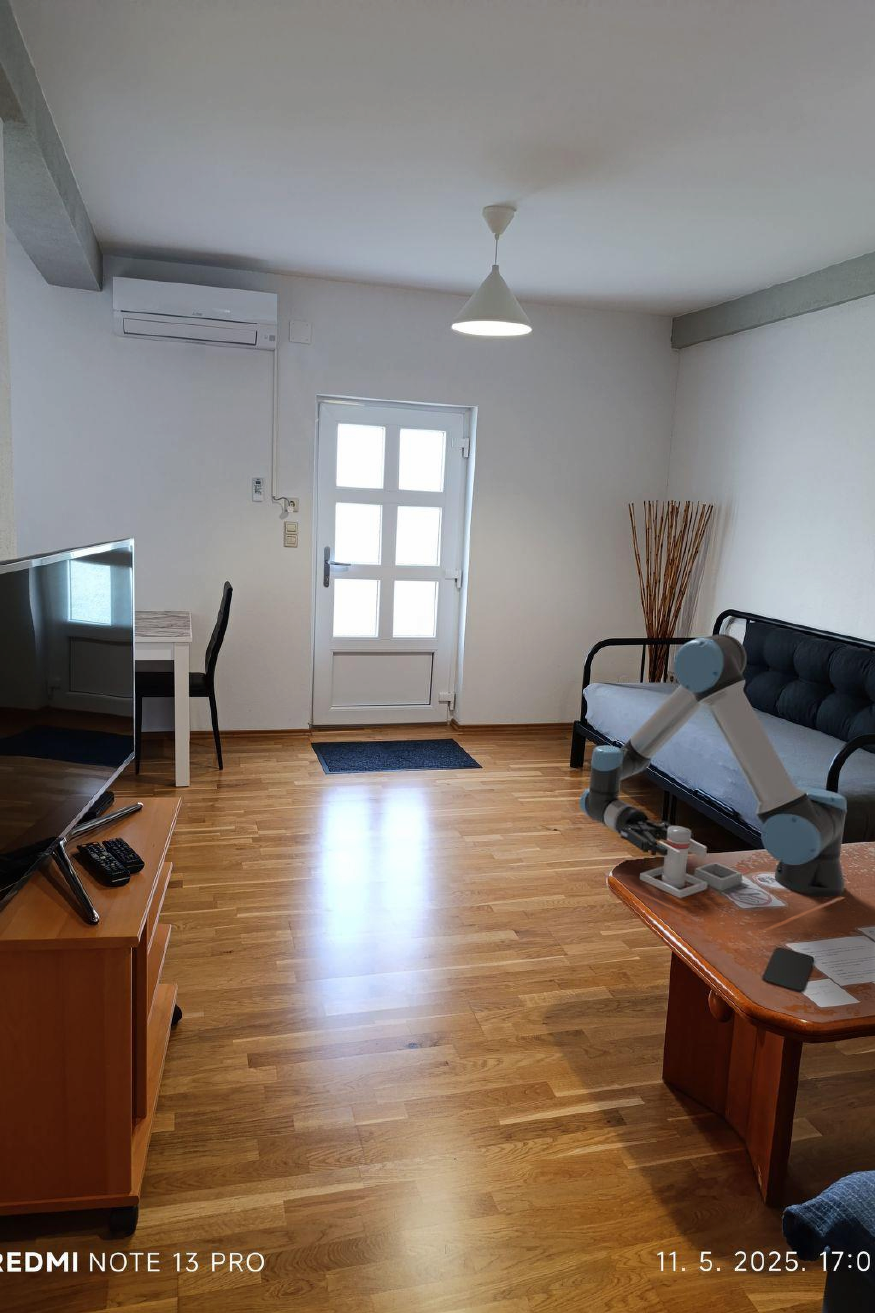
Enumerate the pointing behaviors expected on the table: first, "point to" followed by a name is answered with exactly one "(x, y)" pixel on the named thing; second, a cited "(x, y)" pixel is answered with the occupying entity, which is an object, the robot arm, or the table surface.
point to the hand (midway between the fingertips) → (691, 855)
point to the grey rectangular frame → (697, 886)
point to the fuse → (680, 842)
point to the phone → (788, 969)
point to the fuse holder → (720, 877)
